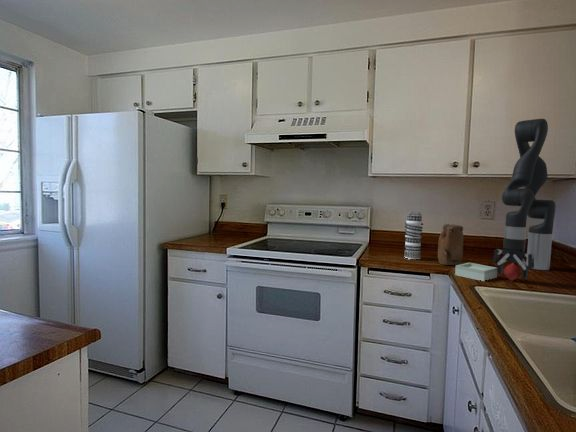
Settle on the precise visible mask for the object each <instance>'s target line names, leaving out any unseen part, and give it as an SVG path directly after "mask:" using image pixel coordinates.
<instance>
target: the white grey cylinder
mask: <svg viewBox="0 0 576 432" xmlns="http://www.w3.org/2000/svg"><path fill="white" fill-rule="evenodd" d="M422 217H423V215H422V214H421V212H419V211H409V212H408V213H407V214H406V219H405V220H406V222H404V227H405V229H404V237H405V242H404V243H405V245H404V251H403V252H404V254H403V257H405V258H408V259H407V260H410V259H420V260H421V256H422V255H421V254H422V252H421V251H422V245H421V238H422V236H423V233H422V232H423V229H424V228H423V225H424V223H423V222H422V221H423V220H422V219H423V218H422ZM405 258H404V259H405Z"/></svg>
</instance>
